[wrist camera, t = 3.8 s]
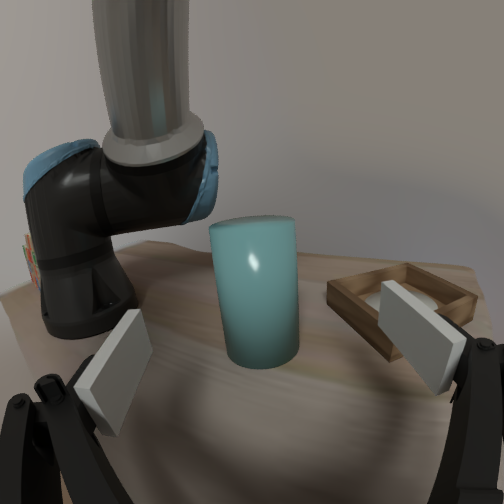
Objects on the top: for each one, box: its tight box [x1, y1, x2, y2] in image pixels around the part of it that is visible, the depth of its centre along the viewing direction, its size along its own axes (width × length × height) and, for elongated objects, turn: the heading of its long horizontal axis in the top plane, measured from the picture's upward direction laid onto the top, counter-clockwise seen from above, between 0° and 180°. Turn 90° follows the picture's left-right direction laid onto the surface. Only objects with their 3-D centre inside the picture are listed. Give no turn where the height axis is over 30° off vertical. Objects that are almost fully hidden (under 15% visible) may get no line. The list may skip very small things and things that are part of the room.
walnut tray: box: [327, 263, 478, 362], centre depth 28 cm, size 13×13×3 cm
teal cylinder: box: [209, 215, 299, 369], centre depth 25 cm, size 7×7×12 cm
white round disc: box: [365, 290, 438, 312], centre depth 28 cm, size 9×9×1 cm
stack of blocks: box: [23, 233, 40, 290], centre depth 47 cm, size 21×6×12 cm, turn 55°
